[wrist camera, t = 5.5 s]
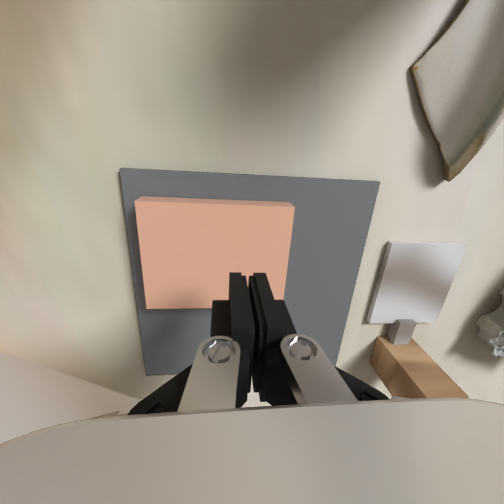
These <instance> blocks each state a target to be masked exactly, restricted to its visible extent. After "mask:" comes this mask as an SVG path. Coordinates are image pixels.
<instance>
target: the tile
mask: <svg viewBox="0 0 504 504" xmlns="http://www.w3.org/2000/svg"><path fill="white" fill-rule="evenodd" d="M134 202H135V211H136V220H137V229H138V237H139V246H140V255H141V264H142V273H143V282H144V291H145V300H146V309H179V308H212V300H229V273H230V272H241V274H242V275H243V276H246V279H247V285H248V282H249V276H253V273H266V275H267V278H268V281H269V284H270V287H271V290H272V293H273V296H274V299H275V300H283V299H284V291H285V283H286V275H287V267H288V259H289V251H290V243H291V235H292V227H293V219H294V211H295V207H294V206H293V205H292V204H291V203H290V202H275V201H249V200H224V199H199V198H174V197H148V196H141V197H140V198H138V199H137V200H135V201H134Z"/></svg>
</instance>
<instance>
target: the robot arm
mask: <svg viewBox="0 0 504 504" xmlns="http://www.w3.org/2000/svg"><path fill="white" fill-rule="evenodd" d="M251 376H252V381H253V389H254V392H259V397H260V402H265V401H267V402H268V403H269V404H271V405H272V406H262V407H245V408H241V407H242V406H243V404H244V403H245V402H246V401H247V393H250V388H251ZM0 504H504V405H502V404H499V403H495V402H489V401H483V400H477V399H463V398H418V399H409V398H403V397H396V396H392V398H391V399H389V398H388V397H387V396H386V395H384V394H383V393H381V392H380V391H378V390H377V389H375V388H373V387H371V386H370V385H368V384H366V383H364V382H362V381H361V380H359V379H357V378H355V377H353V376H352V375H350V374H348V373H346V372H344V371H343V370H341V369H339V368H337V367H335V366H334V365H333V364H332V362H331V361H330V360H329V358H328V357H327V355H326V354H325V352H324V351H323V349H322V348H321V346H320V345H319V344H318V343H317V342H316V341H315V340H314V339H312V338H311V337H308V336H306V335H301V334H297V332H296V329H295V327H294V324H293V322H292V319H291V317H290V314H289V312H288V309H287V307H286V304H285V302H284V300H275V299H274V296H273V293H272V290H271V287H270V284H269V281H268V278H267V275H266V273H253V276H249V282H248V285H247V279H246V276H243V275H242V274H241V272H230V273H229V300H212V315H211V332H210V338H208V339H206V340H204V341H203V342H202V343H201V344H200V346H199V348H198V350H197V353H196V356H195V359H194V362H193V364H191V365H190V366H188V367H187V368H186V369H184V370H183V371H182V372H180V373H179V374H177V375H176V376H175V377H173V378H172V379H171V380H169V381H168V382H166V383H165V384H164V385H162V386H161V387H160V388H158V389H157V390H155V391H154V392H153V393H151V394H150V395H149V396H147V397H146V398H144V399H143V400H142V401H140V402H139V403H138V404H137V405H136V406H134V407H133V408H132V409H131V410H130V412H129V413H126V414H122V415H120V412H119V411H118V412H114V413H110V414H106V415H102V416H99V417H94V418H91V419H87V420H80V421H75V422H70V423H64V424H59V425H56V426H52V427H48V428H44V429H41V430H38V431H34V432H31V433H28V434H26V435H23V436H20V437H17V438H15V439H12V440H9V441H7V442H4V443H2V444H0Z"/></svg>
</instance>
